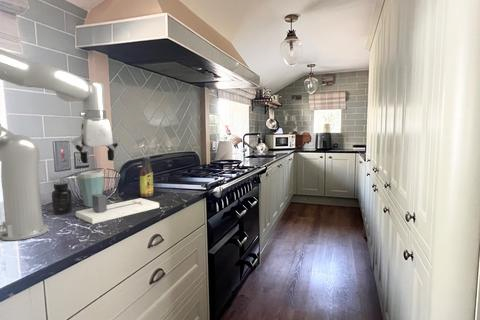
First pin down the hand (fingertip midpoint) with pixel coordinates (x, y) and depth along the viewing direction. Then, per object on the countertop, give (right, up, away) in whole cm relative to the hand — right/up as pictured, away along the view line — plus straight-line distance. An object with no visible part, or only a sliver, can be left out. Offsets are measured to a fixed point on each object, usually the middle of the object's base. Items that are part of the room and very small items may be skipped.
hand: (98, 161), depth 110 cm
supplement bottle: (-18, -21, +7) cm, 28 cm away
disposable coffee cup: (-12, -20, +19) cm, 30 cm away
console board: (+5, -21, +8) cm, 23 cm away
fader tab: (0, -19, +2) cm, 19 cm away
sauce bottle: (+7, -18, +36) cm, 41 cm away
